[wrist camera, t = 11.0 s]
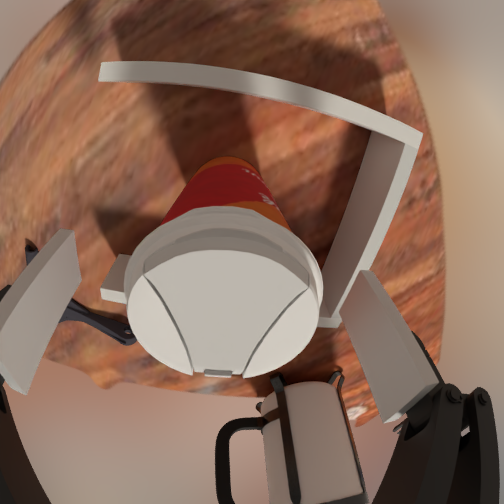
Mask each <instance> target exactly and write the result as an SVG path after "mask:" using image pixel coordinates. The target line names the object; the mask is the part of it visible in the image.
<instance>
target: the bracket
mask: <svg viewBox="0 0 504 504" xmlns="http://www.w3.org/2000/svg"><path fill="white" fill-rule="evenodd" d="M25 253H26V262H27V266H28V264H29V263H30V262H31V261H32V260H33V258H34V257H35V256H36V255H37V254H38V249H37V248H36V249H35V250H34V251H30V246H29V245H27V246H26V247H25ZM66 320H74V321H82V322H85V323H87V324H89V325H91V326H93V327H95V328H97V329H98V330H100V331H102V332H103V333H105V334H107V335H108V336H110V337H112V338H114V339H115V340H117V341H118V342H120V343H121V344H123V345H125V346H126V345H132V344H134V343H135V342H136V341H137V339H136V337H135V335H134V333H133V332H132V331H131V330H132V329H131V326H129V325H126V324H123V323H120V322H117V321H114V320H111V319H108V318H106V317H103V316H100V315H97V314H94V313H92V312H89V311H88V310H87V309H85V308H83V307H82V306H80V305H79V304H77V303H76V302H75V301H74V300H72V299H71V300H70V302H69V303H68V305H67V307H66V309H65V311H64V313H63V315H62V316H61V318H60V320H59V322H58V323H60V322H62V321H66ZM125 329H130V330H125ZM124 330H125V331H124ZM126 332H129V333H131V334H127V333H126Z"/></svg>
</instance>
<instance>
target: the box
mask: <svg viewBox="0 0 504 504" xmlns="http://www.w3.org/2000/svg"><path fill="white" fill-rule="evenodd" d="M98 81H105V82H126V83H157V84H172V85H183V86H193V87H202V88H209V89H217V90H223V91H229V92H235V93H241V94H246V95H251V96H256V97H261V98H266V99H270V100H275V101H279V102H283V103H287V104H291V105H295V106H298V107H302V108H306V109H309V110H313V111H316V112H319V113H323V114H326V115H329V116H332V117H335V118H338V119H341V120H344V121H347V122H350V123H353V124H355V125H358V126H361V127H363V128H366V129H369V130H371V135H370V138H369V141H368V145H367V148H366V151H365V154H364V157H363V160H362V164H361V167H360V170H359V173H358V176H357V179H356V182H355V184H354V187H353V190H352V193H351V196H350V199H349V202H348V204H347V207H346V210H345V212H344V215H343V218H342V221H341V223H340V226H339V228H338V231H337V234H336V236H335V239H334V241H333V244H332V246H331V249H330V251H329V254H328V256H327V259H326V261H325V264H324V266H323V268H322V271H321V274H322V281H323V297H322V302H321V305H320V309H319V319H318V323H317V326H316V327H327V328H338V326H339V324H340V323H341V321H342V318H341V316H340V314H339V310H340V308H341V306H342V304H343V303H344V301H345V299H346V297H347V295H348V293H349V291H350V289H351V287H352V285H353V283H354V281H355V279H356V277H357V275H358V273H359V271H360V270H367V271H369V269H370V267H371V265H372V263H373V261H374V259H375V256H376V254H377V252H378V250H379V248H380V246H381V244H382V241H383V239H384V237H385V235H386V233H387V230H388V228H389V226H390V223H391V221H392V219H393V216H394V214H395V211H396V209H397V207H398V204H399V202H400V199H401V197H402V194H403V191H404V189H405V186H406V183H407V181H408V178H409V175H410V172H411V170H412V167H413V164H414V161H415V158H416V155H417V152H418V149H419V146H420V142H421V139H422V136H423V133H421V132H419V131H417V130H416V129H414V128H412V127H410V126H408V125H406V124H404V123H402V122H399V121H397V120H395V119H393V118H391V117H389V116H387V115H384V114H382V113H380V112H377V111H375V110H373V109H370V108H368V107H365V106H363V105H360V104H358V103H355V102H353V101H350V100H347V99H345V98H342V97H339V96H336V95H333V94H330V93H327V92H324V91H321V90H318V89H315V88H312V87H308V86H305V85H301V84H298V83H294V82H290V81H287V80H283V79H279V78H274V77H270V76H266V75H261V74H256V73H251V72H246V71H241V70H235V69H229V68H222V67H215V66H207V65H199V64H189V63H176V62H157V61H118V62H102V63H101V68H100V74H99V80H98ZM130 257H131V255H125V254H119V255H118V257H117V258H116V260H115V262H114V264H113V265H112V267H111V269H110V271H109V273H108V274H107V276H106V278H105V280H104V282H103V284H102V285H101V287H100V290H101V296H102V299H104V300H109V301H114V302H119V303H124V304H127V302H126V299H125V293H124V277H125V271H126V268H127V265H128V262H129V259H130Z"/></svg>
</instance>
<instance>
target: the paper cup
mask: <svg viewBox="0 0 504 504" xmlns="http://www.w3.org/2000/svg"><path fill="white" fill-rule="evenodd" d="M124 293H125V299H126V302H127V304H126V308H127V316H128V320H129V323H130V326H131V329H132V331H133V333H134V335H135V337H136V339H137V340H138V341H139V343H140V344H141V345H142V346H143V348H144V349H145V350H146V351H147V352H149V353H150V354H151V355H152V356H153V357H154V358H156V359H157V360H159V361H160V362H162V363H163V364H165V365H167V366H169V367H171V368H173V369H175V370H178V371H180V372H182V373H186V374H189V375H192V374H193V368H194V371H195V372H205V376H212V377H230V378H231V374H241V373H242V375H243V378H248V377H254V376H257V375H261V374H265V373H267V372H270V371H272V370H275V369H277V368H279V367H281V366H283V365H284V364H286V363H288V362H289V361H291V360H292V359H293V358H295V357H296V356H297V355H298V354H299V353H300V352H301V351H302V350H303V349H304V348H305V347H306V346H307V344H308V343H309V342H310V340H311V338H312V336H313V334H314V332H315V330H316V326H317V323H318V319H319V309H320V305H321V302H322V297H323V281H322V274H321V272H320V269H319V266H318V263H317V261H316V259H315V258H314V256H313V254H312V253H311V251H310V250H309V248H308V247H307V246H306V245H305V244H304V243H303V242H302V241H301V240H300V238H298V237H297V236H296V235H294V234H293V233H292V232H291V230H290V228H289V226H288V224H287V222H286V220H285V218H284V216H283V215H282V213H281V211H280V209H279V207H278V205H277V203H276V202H275V200H274V198H273V196H272V194H271V193H270V191H269V189H268V187H267V186H266V184H265V182H264V181H263V179H262V177H261V176H260V174H259V173H258V172H257V170H256V169H255V168H254V167H253V166H252V165H251V164H249V163H248V162H246V161H245V160H242V159H240V158H237V157H231V156H224V157H218V158H215V159H212V160H210V161H208V162H207V163H205V164H204V165H203V166H202V167H201V168H200V169H199V170H198V171H197V172H196V173H195V174H194V176H193V177H192V178H191V180H190V181H189V182H188V184H187V185H186V187H185V188H184V189H183V191H182V192H181V194H180V195H179V197H178V198H177V200H176V201H175V203H174V204H173V206H172V207H171V209H170V210H169V212H168V213H167V215H166V216H165V218H164V219H163V221H162V223H161V224H160V226H159V227H158V228H157V229H155V230H154V231H153V232H151V233H150V234H149V235H147V236H146V237H145V238H144V239H143V240H142V242H141V243H140V244H139V245H138V246H137V247H136V249H135V251H134V252H133V254H132V256H131V257H130V259H129V262H128V265H127V268H126V271H125V277H124ZM204 370H205V371H204ZM231 371H232V372H231Z"/></svg>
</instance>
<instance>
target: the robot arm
mask: <svg viewBox="0 0 504 504" xmlns="http://www.w3.org/2000/svg"><path fill="white" fill-rule="evenodd" d="M81 281H82V280H81V274H80V269H79V263H78V256H77V250H76V242H75V234H74V230H68V229H61V228H60V229H59V230H58V232H57V233H56V234H55V235H54V236H53V237H52V238H51V239H50V240H49V241H48V242H47V243H46V245H45V246H44V247H43V248H42V249H41V250H40V251H39V253H38V254H37V255H36V256H35V257H34V258H33V260H32V261H31V262H30V263H29V264H28V266H27V267H26V268H25V269H24V271H23V272H22V273H21V274H20V276H19V277H18V278H17V280H16V281H15V282H14V284H13V285H12V286H11V285H7V286H6V287H5V288H3V289H2V290H1V291H0V504H51V502H50V501H49V499H48V497H47V495H46V494H45V492H44V490H43V488H42V486H41V484H40V483H39V480H38V478H37V476H36V474H35V472H34V470H33V468H32V466H31V464H30V462H29V459H28V457H27V455H26V452H25V450H24V448H23V445H22V442H21V440H20V437H19V434H18V432H17V429H16V426H15V423H14V420H13V417H12V413H11V410H10V406H9V403H8V400H7V395H6V392H5V390H4V387H3V386H2V385H3V383H4V381H6V382H7V383H8V385H9V386H10V387H11V388H12V389H13V390H16V391H18V392H20V393H22V394H24V395H27V393H28V390H29V388H30V385H31V382H32V380H33V377H34V374H35V372H36V370H37V368H38V365H39V363H40V360H41V358H42V356H43V354H44V351H45V349H46V347H47V345H48V343H49V341H50V338H51V336H52V334H53V332H54V330H55V328H56V326H57V324H58V322H59V320H60V318H61V316H62V315H63V313H64V311H65V309H66V307H67V305H68V303H69V302H70V300H71V298H72V296H73V294H74V293H75V291H76V289H77V287H78V286H79V284H80V282H81ZM339 314H340V316H341V318H342V321H343V323H344V325H345V328H346V330H347V332H348V335H349V337H350V340H351V342H352V344H353V347H354V349H355V352H356V354H357V356H358V359H359V361H360V364H361V366H362V369H363V371H364V374H365V376H366V379H367V382H368V384H369V387H370V389H371V392H372V395H373V397H374V400H375V403H376V405H377V408H378V411H379V414H380V416H381V419H382V422H383V423H387V422H391V421H394V420H397V419H398V418H400V417H401V416H402V415H403V414H405V413H406V414H407V417H408V418H406V419H405V420H404V421H403V422H401V423H400V424H399V425H397V426H396V427H395V428H394V429H393V432H395V431H397V430H398V429H399V428H401V427H402V428H401V430H400V431H399V432H398V433H397V434H399V438H398V441H397V444H396V447H395V449H394V452H393V455H392V458H391V460H390V463H389V466H388V469H387V471H386V473H385V476H384V478H383V481H382V483H381V485H380V487H379V490H378V492H377V494H376V496H375V498H374V500H373V502H372V504H499V488H500V482H499V481H500V477H499V454H498V443H497V434H496V426H495V419H494V413H493V408H492V403H491V399H490V396H489V394H488V392H487V391H486V390H485V389H483V388H481V387H477V388H476V389H475V390H474V391H473V392H472V393H470V394H462V393H461V392H460V390H459V389H458V388H457V387H456V386H454V385H452V384H450V383H449V384H445V383H444V381H443V379H442V377H441V375H440V373H439V372H438V370H437V368H436V366H435V364H434V362H433V361H432V359H431V357H429V356H430V355H429V353H428V352H427V350H425V347H424V345H423V343H422V341H421V340H420V338H419V337H418V336H417V335H416V334H415V333H414V332H413V331H411V330H410V329H409V327H408V325H407V324H406V322H405V320H404V319H403V317H402V316H401V314H400V312H399V311H398V309H397V308H396V306H395V304H394V303H393V301H392V300H391V298H390V297H389V295H388V294H387V292H386V291H385V289H384V287H383V286H382V284H381V283H380V281H379V280H378V279H377V277H376V276H375V274H374V273H373V271H367V270H360V271H359V273H358V275H357V277H356V279H355V281H354V283H353V285H352V287H351V289H350V291H349V293H348V295H347V297H346V299H345V301H344V303H343V304H342V306H341V308H340V310H339ZM468 426H469V429H470V432H468V433H467V434H466V435H464V436H463V437H462V436H461V431H463V430H464V429H466V428H467V427H468Z"/></svg>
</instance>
